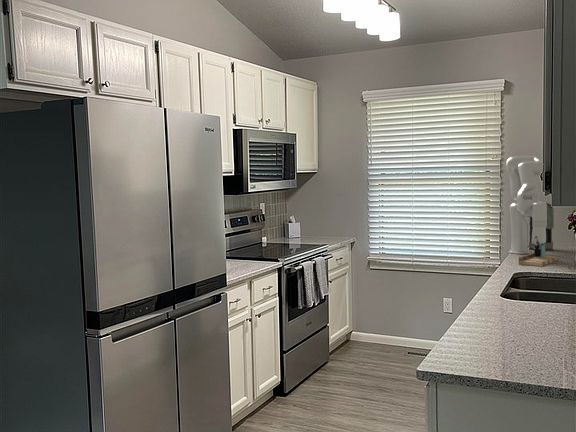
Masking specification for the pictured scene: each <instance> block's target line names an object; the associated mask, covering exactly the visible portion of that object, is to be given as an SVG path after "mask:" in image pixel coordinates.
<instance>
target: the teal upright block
mask: <svg viewBox="0 0 576 432" xmlns="http://www.w3.org/2000/svg"><path fill="white" fill-rule="evenodd" d="M538 247H539V245H538ZM540 249H541V256H540V257H539V256H535V249H534V250H533V252H534V257H538V258H543V257H545V256H546V250H545V244H540Z"/></svg>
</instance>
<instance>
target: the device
mask: <svg viewBox="0 0 576 432" xmlns="http://www.w3.org/2000/svg"><path fill="white" fill-rule="evenodd" d="M545 203H546V204H547V227H546V242H545V243H544V244H545V251H554V241H553V240H552V239H553V238H552V237H553V236H552V231H553V228H554V219H555V217H554V216H555V215H554V213H555V211H554V210H555V209H554V208H553V207H554V206H553V207H551V205H552V204H550V203H548V202H545ZM528 225H529V232H528V235H529V241H528V246H529V247H528V250H529V251H534V244H532V230H533V226H532V217H529V223H528ZM537 244H538V243H537Z"/></svg>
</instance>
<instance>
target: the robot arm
mask: <svg viewBox="0 0 576 432" xmlns="http://www.w3.org/2000/svg"><path fill="white" fill-rule="evenodd" d="M542 163H543V162H542V160H541V159H539V157H537V156H534V155H520V156H517V155H516V156H515V155H514V156H511V157H509V158H508V159H507V160H506V164H505V167H506V172H507V175H508V178H509V184H510V185H509V187H510V196H511V199H513V200H515V201H516V202H512V203H511V204H510V205H509V214H510V223H511V224H510V226H511V228H510V234H511V236H510V237H511V239H510V241H511V243H510V245H511V246H510V247H511V248H510V249H509V250H508V254H509V253H510V254H519V255H527V254H530V253H531V250H529V241H528V240H529V238H528V237H529V231H528V229H529V228H528V227H529V224H528V222H527V221H526V220H525V219H524V218H530V217H532V226H533V230H532V244H534V249H535V256H539V257H540V256H541V249H540V244H544V243H545V242H546V227H547V204H546V203H547V202H544V201H541V200H540V195H539V194H540V193H539V188H538V187H537V186H538V181H537V177H536V176H541V175H540V173H541V172H542ZM537 243H538V244H537ZM538 245H539V247H538Z"/></svg>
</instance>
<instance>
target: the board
mask: <svg viewBox="0 0 576 432" xmlns="http://www.w3.org/2000/svg"><path fill="white" fill-rule="evenodd" d="M557 258H558V257H557V256H551V255H545V257H543V258H538V257H534V251H533V252H530V253H528V254H523V255H521V256H518V265H519V266H520V265H523V266H532V265H533V266H534V267H544V266H545V265H548V264H551V263H554V262H556V261H557V260H558V259H557ZM533 266H532V267H533Z"/></svg>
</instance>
